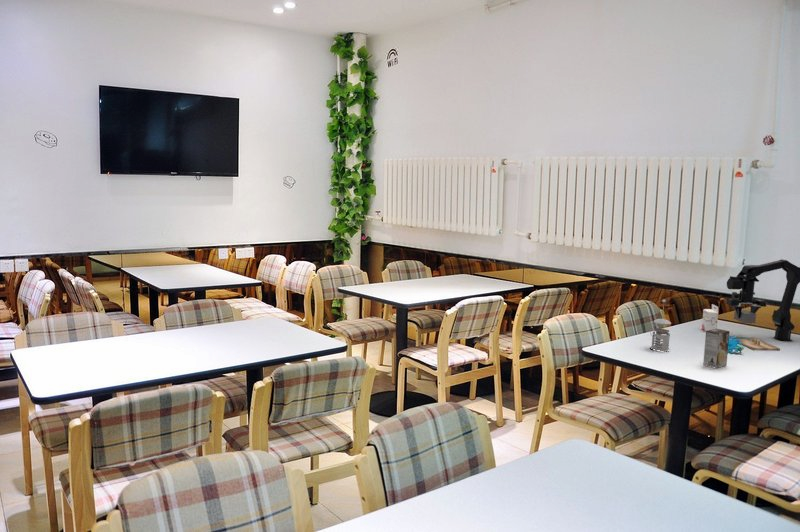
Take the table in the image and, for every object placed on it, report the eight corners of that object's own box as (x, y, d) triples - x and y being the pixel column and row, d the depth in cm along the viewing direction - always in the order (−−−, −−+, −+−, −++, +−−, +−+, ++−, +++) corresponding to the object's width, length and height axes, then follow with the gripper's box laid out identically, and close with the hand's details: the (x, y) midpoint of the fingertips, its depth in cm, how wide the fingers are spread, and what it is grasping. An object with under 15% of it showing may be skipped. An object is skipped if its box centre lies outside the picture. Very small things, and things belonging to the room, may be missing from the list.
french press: (659, 352, 314) (663, 301, 311) (642, 346, 325) (646, 297, 322) (675, 351, 318) (679, 300, 315) (657, 345, 329) (661, 296, 325)
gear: (715, 347, 320) (724, 332, 324) (716, 354, 324) (725, 338, 327) (738, 355, 313) (747, 339, 316) (739, 362, 317) (748, 346, 320)
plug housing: (744, 319, 351) (745, 309, 350) (755, 323, 341) (756, 313, 340) (733, 318, 351) (734, 309, 350) (743, 322, 341) (744, 313, 340)
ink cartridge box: (700, 329, 367) (703, 303, 365) (709, 329, 367) (712, 303, 365) (707, 332, 359) (710, 306, 357) (716, 333, 359) (719, 306, 357)
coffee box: (713, 362, 301) (716, 328, 299) (726, 365, 296) (730, 331, 293) (702, 365, 295) (705, 330, 293) (716, 368, 290) (719, 333, 288)
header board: (758, 341, 343) (759, 334, 343) (779, 350, 325) (780, 343, 325) (732, 340, 342) (733, 334, 342) (752, 350, 325) (753, 343, 324)
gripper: (756, 287, 352) (753, 315, 354) (722, 286, 351) (719, 315, 354) (768, 291, 341) (765, 320, 343) (733, 290, 340) (730, 319, 342)
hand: (744, 318), depth 346 cm, fingers closed on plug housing, 6 cm apart
